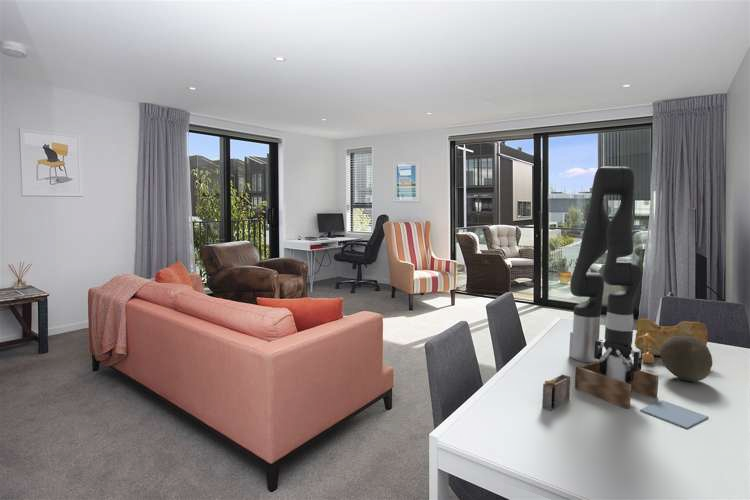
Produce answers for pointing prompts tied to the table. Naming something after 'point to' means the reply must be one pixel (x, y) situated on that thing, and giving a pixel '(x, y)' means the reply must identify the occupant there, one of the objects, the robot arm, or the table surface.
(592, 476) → the table surface
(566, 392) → the brown upright block
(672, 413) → the mat
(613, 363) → the skincare box
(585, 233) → the robot arm
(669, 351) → the brown rock
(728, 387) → the table surface
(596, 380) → the open side box
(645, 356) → the figurine
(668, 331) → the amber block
